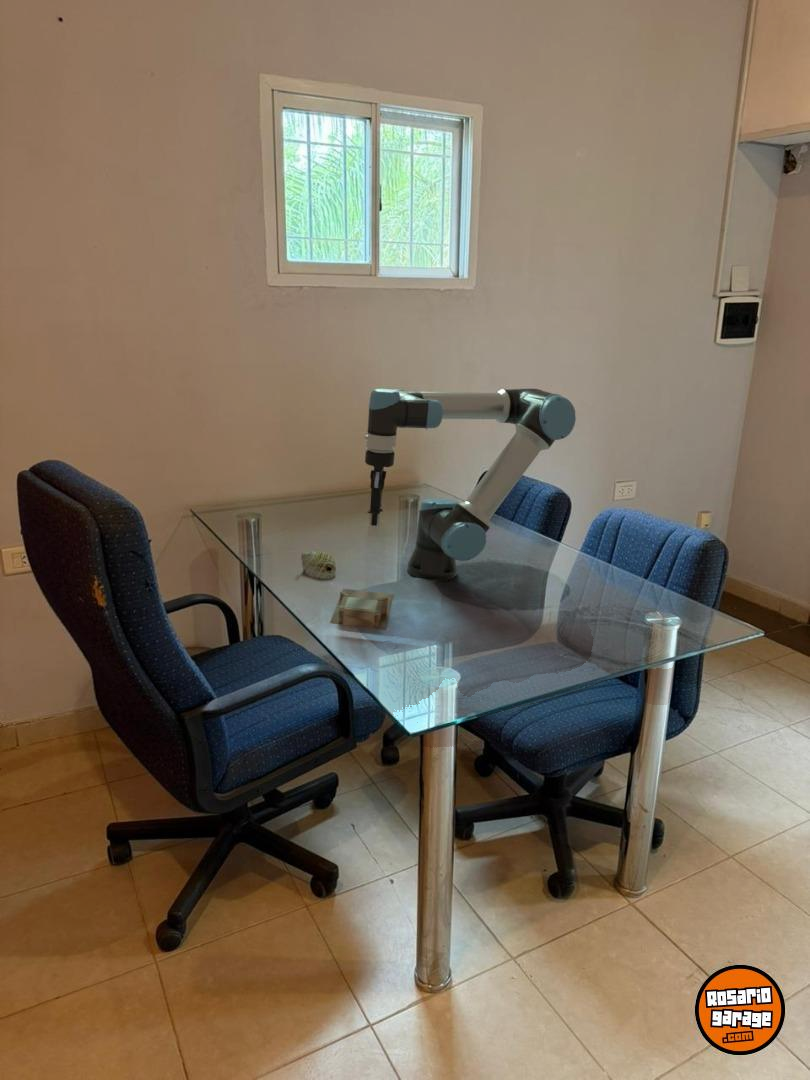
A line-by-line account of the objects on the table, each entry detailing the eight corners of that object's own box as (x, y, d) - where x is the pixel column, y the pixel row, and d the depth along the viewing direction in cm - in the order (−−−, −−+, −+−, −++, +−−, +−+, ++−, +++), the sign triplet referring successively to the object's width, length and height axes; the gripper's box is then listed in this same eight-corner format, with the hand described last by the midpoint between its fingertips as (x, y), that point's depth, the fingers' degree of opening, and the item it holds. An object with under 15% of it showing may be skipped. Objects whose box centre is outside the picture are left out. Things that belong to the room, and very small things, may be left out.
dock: (393, 598, 206) (395, 580, 204) (385, 634, 184) (387, 613, 182) (342, 592, 206) (344, 573, 205) (329, 627, 185) (331, 606, 183)
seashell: (336, 583, 211) (322, 551, 208) (305, 592, 213) (291, 561, 210) (344, 569, 220) (330, 539, 217) (315, 578, 223) (301, 549, 220)
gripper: (368, 443, 201) (361, 527, 208) (363, 453, 188) (357, 541, 196) (396, 446, 201) (388, 529, 208) (393, 456, 188) (385, 544, 196)
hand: (373, 535), depth 202 cm, fingers closed
